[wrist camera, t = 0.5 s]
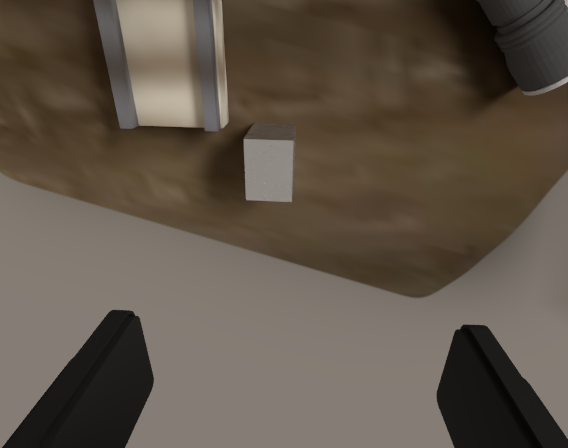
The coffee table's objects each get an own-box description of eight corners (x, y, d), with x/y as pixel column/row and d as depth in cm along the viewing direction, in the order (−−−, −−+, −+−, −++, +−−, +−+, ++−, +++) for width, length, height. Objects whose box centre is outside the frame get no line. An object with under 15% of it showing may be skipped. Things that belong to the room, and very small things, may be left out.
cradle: (114, -14, 31) (86, -23, 27) (220, -13, 31) (208, -21, 27) (138, 119, 37) (118, 128, 33) (228, 122, 36) (219, 131, 32)
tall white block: (254, 122, 36) (243, 139, 30) (295, 123, 36) (293, 140, 30) (255, 177, 39) (246, 202, 33) (293, 179, 39) (291, 204, 33)
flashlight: (425, -48, 29) (447, -67, 24) (484, -108, 27) (521, -140, 22) (511, 91, 34) (544, 99, 29) (567, 49, 32) (613, 50, 27)
